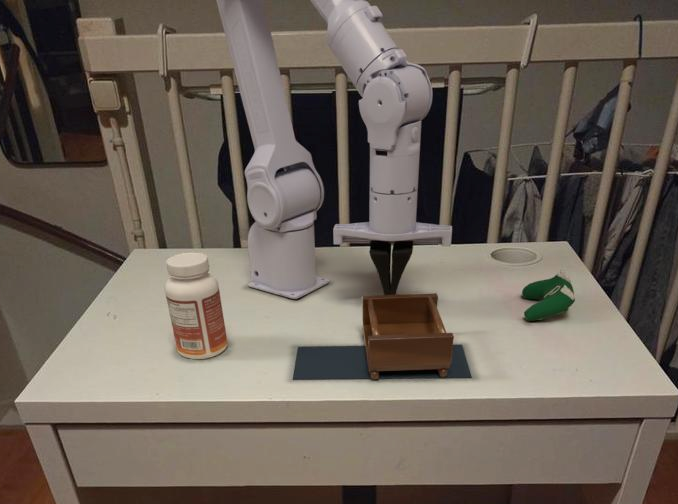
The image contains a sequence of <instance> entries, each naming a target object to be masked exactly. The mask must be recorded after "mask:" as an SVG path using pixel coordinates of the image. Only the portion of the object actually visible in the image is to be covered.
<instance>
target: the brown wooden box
mask: <svg viewBox="0 0 678 504" xmlns="http://www.w3.org/2000/svg"><path fill="white" fill-rule="evenodd" d="M438 301H439V295H438V293H437V292H436V293H435V292H434V293H433V292H432V293H405V294H403V293H401V294H396V295H384V294H377V295H362V314H361V315H362V318H361V319H362V321H361V322H362V333H363V341H364V342H363V343H364V346H365V349H366V357H367V364H368V371H370V376H371V378H372V379H371V380H378V379H377V378H378V377H379V371H397V370H425V369H437V370H438V373H439V375H440V376H441V377H445V376H446V375H447V373H448V371H447V369H450V364H451V360H452V350H453V345H454V340H455V339H454V338H455V336H454V334H453V332H447V330H446V328H445V325H444V322H443V319H442V317H441V315H440V312H439V309H438Z"/></svg>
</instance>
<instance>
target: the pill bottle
mask: <svg viewBox="0 0 678 504" xmlns="http://www.w3.org/2000/svg"><path fill="white" fill-rule="evenodd" d="M165 265H166V270H167V274H168V276H169V277H170V278H168V279H167V280H166V282H165V285H164V293H165V298H166V303H167V308H168V312H169V317H170V323H171V327H172V332H173V336H174V341H175V347H176V350H177V352H178V353H179V354H180V355H181V356H182V357H184V358H187V359H191V360H205V359H209V358H212V357H215V356H218V355H220V354H221V353H222V352H224V351H225V350H226V348H227V347H228V338H227V330H226V325H225V318H224V312H223V305H222V300H221V298H222V297H221V292H220V287H219V286H220V285H219V282H218V280H217V278H216V277H215V276H214V275H212V274H211V273H209V272H210V262H209V257H208V255H206V254H205V253H202V252H194V251H193V252H182V253H177V254H174V255H172V256H170V257H168V258H167V259H166V261H165Z"/></svg>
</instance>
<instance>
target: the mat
mask: <svg viewBox="0 0 678 504" xmlns="http://www.w3.org/2000/svg"><path fill="white" fill-rule="evenodd" d="M295 356H296V357H295V361H294V368H293V375H292V380H294V381H295V380H296V381H297V380H298V381H299V380H304V381H305V380H373V379H372V378H371V376H370V371H368V364H367V357H366V349H365V345H318V346H317V345H316V346H315V345H314V346H313V345H312V346H311V345H309V346H308V345H307V346H302V345H301V346H297V350H296V355H295ZM447 371H448V373H447V375H446V376H445V377H441V376H440V375H439V373H438V370H437V369H425V370H397V371H379V377H378V378H377V379H376V380H386V379H388V380H390V379H391V380H395V379H396V380H397V379H399V380H400V379H401V380H402V379H472V378H473V376H472V373H471V369H470V366H469V362H468V360H467V356H466V353H465V349H464V345H463V344H461V343H460V344H458V343H457V344H453V350H452V360H451V364H450V369H447Z"/></svg>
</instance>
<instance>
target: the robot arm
mask: <svg viewBox="0 0 678 504" xmlns="http://www.w3.org/2000/svg"><path fill="white" fill-rule="evenodd" d="M215 1H216V5H217V9H218V13H219V16H220V21H221V24H222V28H223V33H224V36H225V39H226V44H227V47H228V51H229V55H230V59H231V63H232V66H233V70H234V74H235V78H236V83H237V86H238V90H239V94H240V97H241V102H242V106H243V109H244V113H245V117H246V122H247V125H248V129H249V132H250V136H251V140H252V144H253V148H254V153H253V155H252V156H251V158H250V160H249V161H248V164H247V166H246V167H245V170H244V177H245V180H246V186H247V187H246V188H247V192H246V193H247V195H246V201H247V206H248V209H249V212H250V214H251V216H252V218H253V219H254V223H252V225H251V226H250V228H249V231H248V235H247V251H248V261H249V262H248V263H249V270H250V279H251V281H249V282H248V283H247V286H248V287H249V288H253V289H256V290H260V291H264V292H267V293H271V294H274V295H278V296H281V297H285V298H287V299H288V298H289V299H292V300H298V299H299V298H302V297H304V296H306V295H308V294H309V293H311V292H313V291H316V290H317V289H319V288H322V287H323V286H325V285H327V284H329V283H330V279H328V278H326V277H321V276H317V264H316V263H317V261H316V243H315V242H316V240H315V239H316V238H315V221H316V220H317V217H318V216H317V212H318V211H319V210H320V208H321V207H322V206H323V203H324V199H325V187H324V183H323V180H322V178H321V176H320V174H319V173H318V171H317V169H316V167H315V164H314V162H313V157H312V154H311V152H310V151H308V150H307V149H306V148H305V147H304V146H303V145H301V144H300V142H298V141H297V139H296V136H295V132H294V127H293V123H292V118H291V115H290V111H289V110H290V109H289V105H288V102H287V97H286V93H285V87H284V84H283V79H282V76H281V71H280V70H281V69H280V67H279V62H278V58H277V54H276V48H275V45H274V41H273V35H272V31H271V27H270V22H269V19H268V14H267V10H266V9H267V8H266V5H265V1H264V0H215ZM309 1H310V2H311V4H312V5H313V7H314V8H315V9H316V10H317V12H318V13H319V15H320V16H321V17H322V19H323V21H325V23H326V24H327V30H326V44H327V46H328V48H329V49H330V51H331V52H332V54H333V56H334V57H335V58H336V60H337V61H338V64H340V66H341V67H342V69H343V70H344V72H345V73H346V75H347V77H348V78H349V80H350V81H351V83H352V84H353V86H354V87H355V89H356V91H357V92H358V94H359V95H360V96H361V97H362V98H361V99H359V100H358V108H359V113H360V116H361V119H362V121H363V123H364V124H365V126H366V127H365V128H366V131H367V143H368V144H369V205H368V206H369V209H368V211H369V212H368V213H369V214H368V215H369V217H368V218H369V219H368V220H369V221H365V222H364V221H363V222H355V223H336V224H334V226H333V229H332V231H333V232H332V233H333V237H332V239H333V245H337V246H338V245H339V246H341V245H343V244H369V251H368V252H369V256H370V259H371V261H372V263H373V265H374V267H375V269H376V272H377V275H378V277H379V281H380V284H381V288H382V292H383V293H382V294H383V295H397V292H398V288H399V284H400V281H401V279H402V276H403V274H404V271H405V270H406V268H407V265H408V263H409V261H410V260H411V257H412V255H413V250H414V245H441V247H451V246H452V235H453V226H452V225H448V224H447V225H446V224H435V223H425V222H418V221H417V211H418V210H417V209H418V191H419V190H418V189H419V175H420V173H419V171H420V154H421V153H420V152H421V138H422V137H421V134H422V120H424V119H425V118H426V116H427V115H428V114H429V112H430V109H431V106H432V104H433V87H432V83H431V80H430V77H429V75H428V73H427V70H426V69H425V68H424V67H423V66H422V65H420V64H417V63H412V62H411V63H410V62H409V61H408V60H407V55H406V53H405V51H404V50H403V49H402V48H400V49H399V48H398V46H397V44H396V43H395V41H394V40H393V38H392V37H391V35H390V34H389V32H388V30H387V29H386V27H385V26H384V24H383V22H382V21H381V19H382V18H383V13H382V12H381V10H380V9H379V7H378V6H377V5H371V4H370V3H369V1H366V0H309ZM280 169H284V170H282V171H280V172H277V171H278V170H280ZM392 245H393V246H392Z"/></svg>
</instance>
